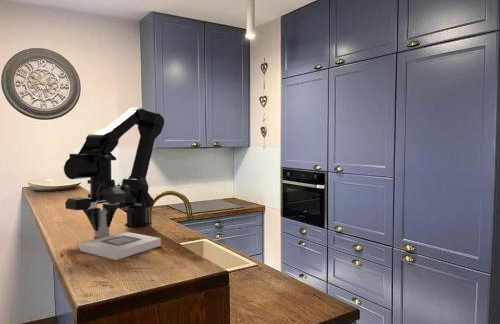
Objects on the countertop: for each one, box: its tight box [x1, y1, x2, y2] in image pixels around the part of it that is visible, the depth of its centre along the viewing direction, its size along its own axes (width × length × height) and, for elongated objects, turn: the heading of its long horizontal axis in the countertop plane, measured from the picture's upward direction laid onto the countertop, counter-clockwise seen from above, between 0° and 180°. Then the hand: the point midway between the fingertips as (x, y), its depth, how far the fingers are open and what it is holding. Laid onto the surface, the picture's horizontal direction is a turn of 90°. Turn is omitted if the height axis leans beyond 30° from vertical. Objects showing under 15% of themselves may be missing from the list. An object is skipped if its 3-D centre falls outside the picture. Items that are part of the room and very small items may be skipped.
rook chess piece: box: [93, 208, 111, 239], centre depth 104 cm, size 4×4×8 cm
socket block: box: [79, 231, 162, 261], centre depth 91 cm, size 14×14×2 cm
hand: (101, 229), depth 104 cm, fingers closed on rook chess piece, 3 cm apart
